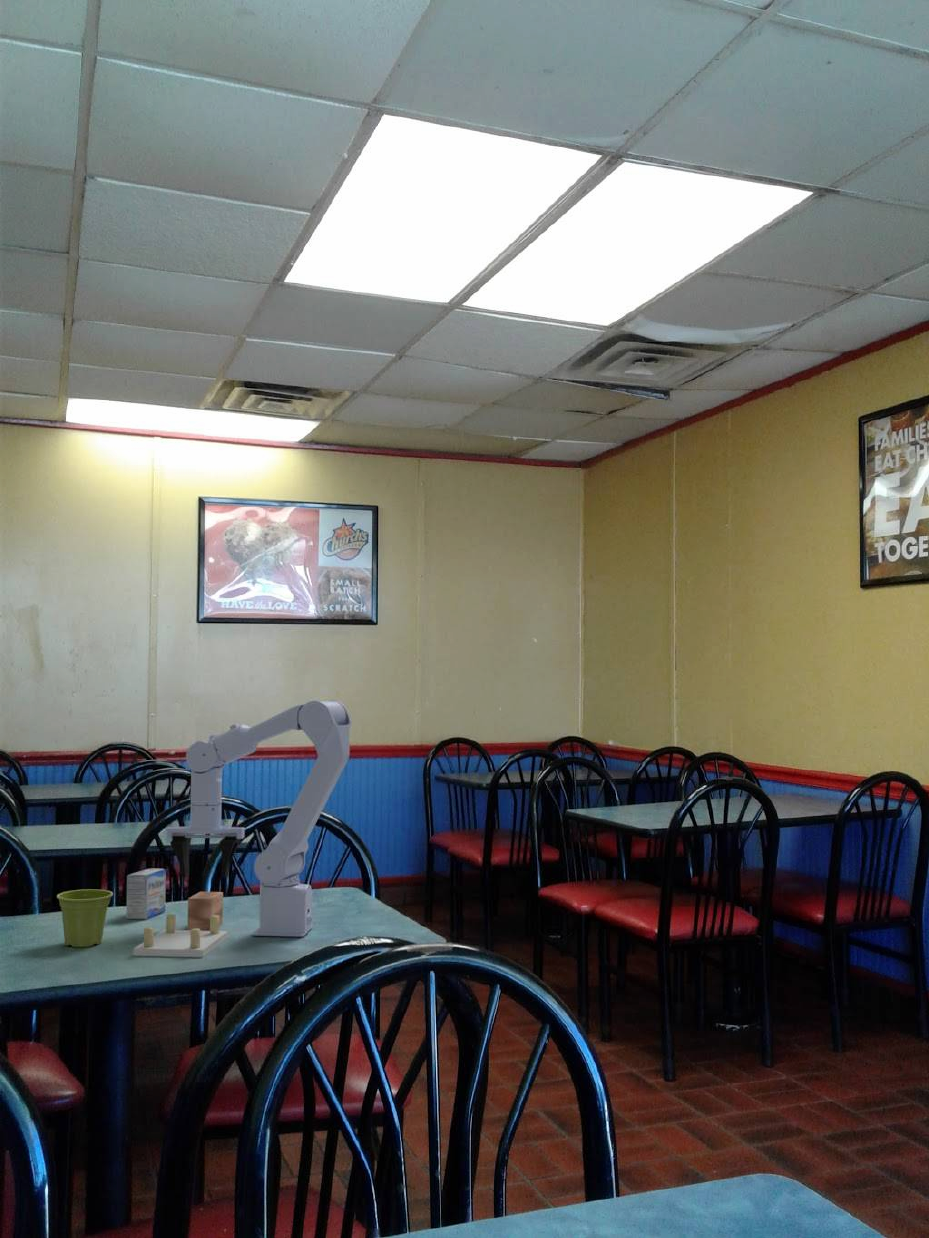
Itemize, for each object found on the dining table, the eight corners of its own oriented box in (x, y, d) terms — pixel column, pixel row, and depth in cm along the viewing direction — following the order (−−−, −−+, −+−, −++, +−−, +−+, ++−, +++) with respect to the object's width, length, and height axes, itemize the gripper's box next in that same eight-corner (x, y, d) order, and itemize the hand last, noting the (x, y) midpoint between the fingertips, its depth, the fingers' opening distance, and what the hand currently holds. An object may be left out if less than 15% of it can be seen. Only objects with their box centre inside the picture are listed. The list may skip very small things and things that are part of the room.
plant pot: (111, 936, 195) (112, 887, 196) (112, 947, 186) (113, 897, 187) (56, 939, 192) (57, 890, 193) (54, 951, 183) (55, 900, 184)
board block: (222, 923, 206) (223, 892, 206) (211, 931, 199) (211, 899, 200) (199, 923, 206) (200, 891, 207) (187, 931, 199) (188, 898, 200)
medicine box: (146, 920, 209) (147, 875, 209) (125, 919, 210) (126, 874, 210) (165, 911, 216) (166, 868, 217) (145, 910, 217) (146, 867, 218)
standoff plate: (227, 938, 194) (228, 914, 194) (202, 957, 180) (203, 931, 180) (163, 936, 195) (163, 913, 195) (133, 955, 181) (134, 930, 181)
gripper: (249, 802, 208) (248, 873, 207) (175, 802, 209) (174, 872, 208) (239, 806, 201) (238, 879, 200) (163, 805, 202) (162, 879, 201)
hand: (205, 876), depth 203 cm, fingers open, 7 cm apart
